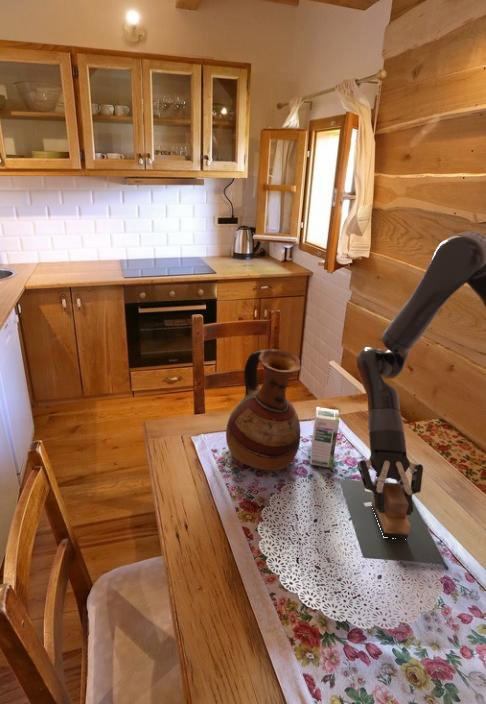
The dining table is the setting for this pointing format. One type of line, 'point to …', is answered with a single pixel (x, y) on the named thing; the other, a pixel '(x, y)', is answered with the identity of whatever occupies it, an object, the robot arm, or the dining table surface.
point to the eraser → (393, 512)
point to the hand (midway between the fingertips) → (394, 513)
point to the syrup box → (324, 437)
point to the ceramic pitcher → (266, 414)
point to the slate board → (370, 535)
